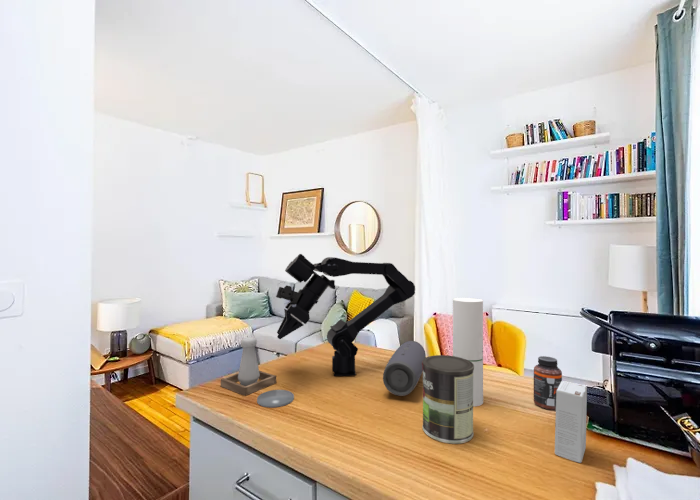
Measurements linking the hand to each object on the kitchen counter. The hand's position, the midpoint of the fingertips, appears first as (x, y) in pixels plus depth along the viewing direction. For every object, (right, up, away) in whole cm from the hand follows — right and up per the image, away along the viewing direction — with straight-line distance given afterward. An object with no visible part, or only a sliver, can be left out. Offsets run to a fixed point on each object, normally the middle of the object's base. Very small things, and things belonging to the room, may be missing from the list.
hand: (278, 335), depth 98 cm
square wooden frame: (-8, -13, -3) cm, 15 cm away
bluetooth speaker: (+36, -13, -2) cm, 39 cm away
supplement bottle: (+68, -13, -16) cm, 71 cm away
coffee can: (+41, -13, -27) cm, 51 cm away
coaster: (+2, -13, -12) cm, 18 cm away
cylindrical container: (+50, -13, -13) cm, 53 cm away
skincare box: (+61, -13, -35) cm, 72 cm away
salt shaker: (-8, -13, -3) cm, 15 cm away
